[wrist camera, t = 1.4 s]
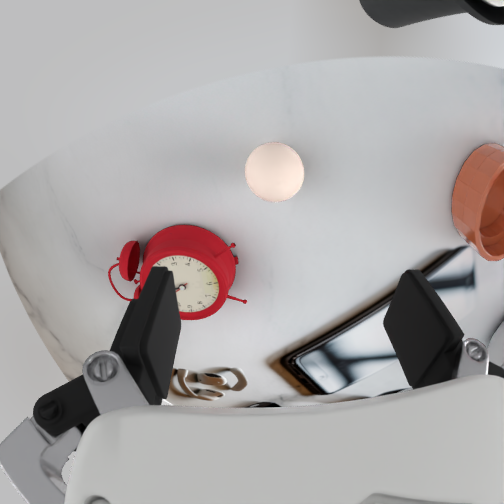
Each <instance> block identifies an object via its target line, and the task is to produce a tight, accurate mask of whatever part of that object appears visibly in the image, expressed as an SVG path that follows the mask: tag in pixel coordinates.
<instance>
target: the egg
mask: <svg viewBox="0 0 504 504" xmlns="http://www.w3.org/2000/svg"><path fill="white" fill-rule="evenodd" d="M245 177H246V181H247V184H248V186H249V187H250V189H251V190H252V192H253V193H254V194H255V195H256V196H258V197H259V198H261V199H263V200H266V201H269V202H282V201H285V200H287V199H289V198H291V197H292V196H294V195H295V194H296V193H297V192H298V191H299V189H300V188H301V186H302V183H303V180H304V166H303V164H302V161H301V159H300V157H299V156H298V154H297V153H296V152H295V151H294V150H293V149H292V148H291V147H289V146H287V145H285V144H282V143H278V142H270V143H265V144H263V145H260V146H259V147H257V148H256V149H254V150H253V152H252V153H251V154H250V155H249V157H248V159H247V162H246V165H245Z"/></svg>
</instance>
